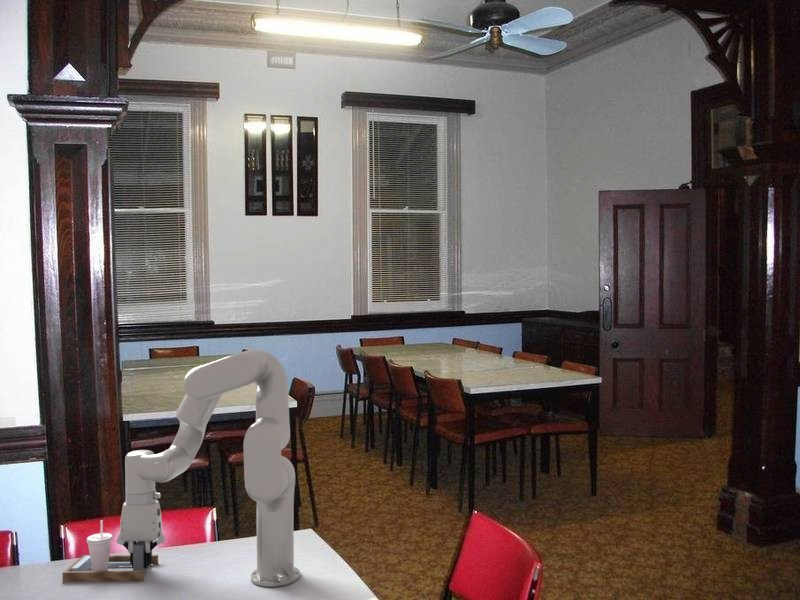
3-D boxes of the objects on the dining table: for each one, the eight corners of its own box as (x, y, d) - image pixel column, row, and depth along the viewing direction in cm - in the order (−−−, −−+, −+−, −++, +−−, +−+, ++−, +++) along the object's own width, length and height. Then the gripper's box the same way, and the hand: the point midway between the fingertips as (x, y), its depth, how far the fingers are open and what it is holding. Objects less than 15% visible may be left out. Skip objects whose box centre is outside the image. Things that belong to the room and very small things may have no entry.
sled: (151, 565, 197) (151, 536, 197) (139, 579, 188) (139, 548, 188) (86, 566, 197) (86, 537, 197) (71, 579, 188) (71, 549, 188)
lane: (158, 563, 199) (158, 554, 199) (142, 581, 187) (142, 571, 186) (83, 564, 199) (83, 555, 199) (62, 582, 186) (62, 572, 186)
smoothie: (106, 577, 189) (106, 524, 189) (82, 577, 189) (82, 524, 189) (116, 568, 196) (116, 516, 196) (93, 568, 196) (92, 516, 196)
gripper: (175, 493, 196) (175, 560, 196) (115, 494, 196) (116, 561, 196) (166, 501, 189) (167, 571, 189) (104, 502, 189) (105, 572, 189)
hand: (141, 565), depth 193 cm, fingers closed on sled, 2 cm apart
